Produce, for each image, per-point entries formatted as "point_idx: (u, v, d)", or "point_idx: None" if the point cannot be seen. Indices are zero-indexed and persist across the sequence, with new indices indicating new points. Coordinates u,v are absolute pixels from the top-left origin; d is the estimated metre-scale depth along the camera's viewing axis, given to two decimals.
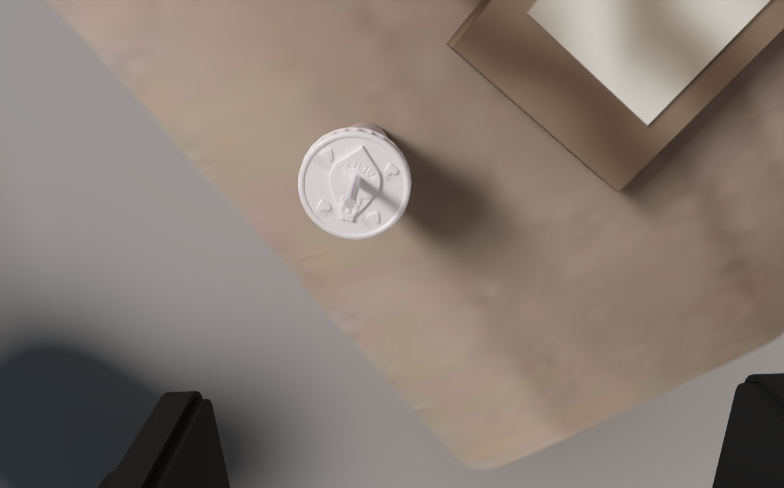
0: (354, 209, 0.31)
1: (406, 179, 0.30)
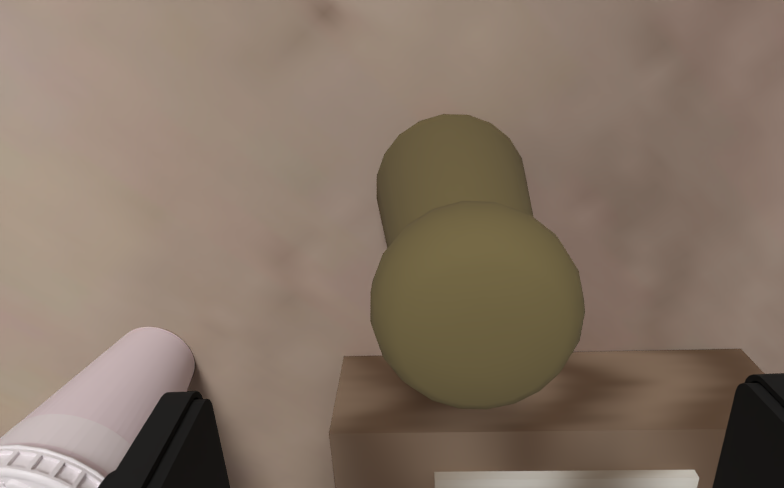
0: None
1: None
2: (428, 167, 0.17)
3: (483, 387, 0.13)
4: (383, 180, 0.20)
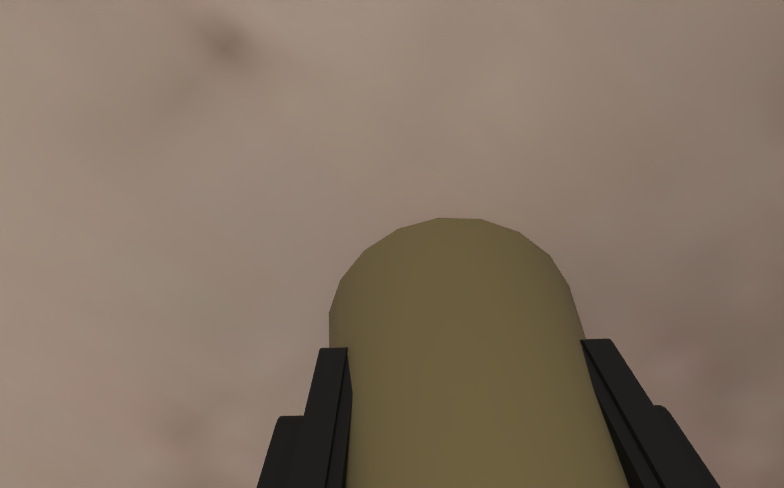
0: None
1: None
2: (412, 367, 0.08)
3: None
4: (334, 340, 0.12)
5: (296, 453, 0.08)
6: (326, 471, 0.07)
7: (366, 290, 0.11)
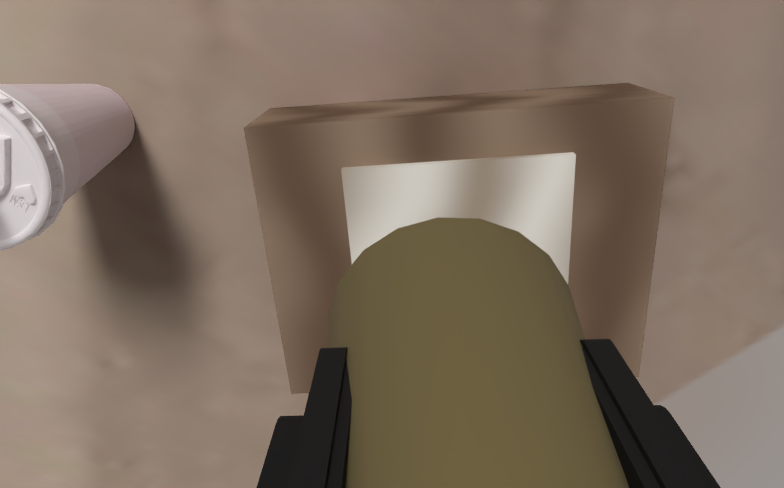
0: None
1: (38, 219, 0.20)
2: (410, 366, 0.08)
3: None
4: (334, 339, 0.11)
5: (296, 453, 0.08)
6: (327, 471, 0.07)
7: (365, 289, 0.11)
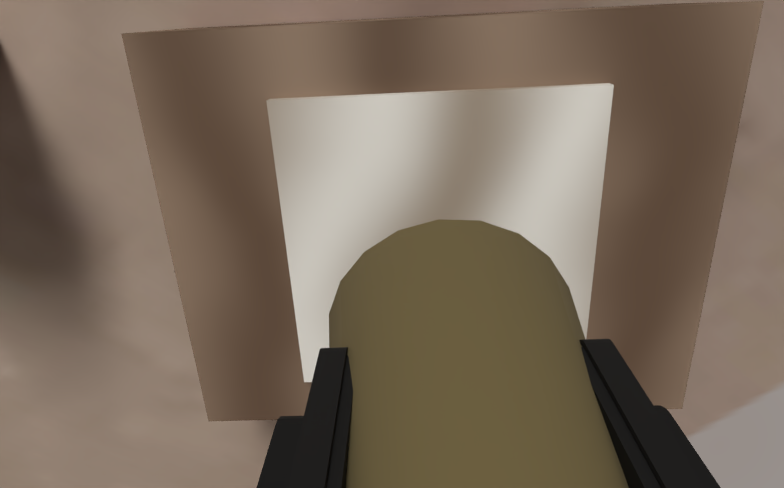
0: None
1: None
2: (411, 369, 0.08)
3: None
4: (334, 341, 0.11)
5: (296, 453, 0.08)
6: (327, 472, 0.07)
7: (366, 292, 0.11)
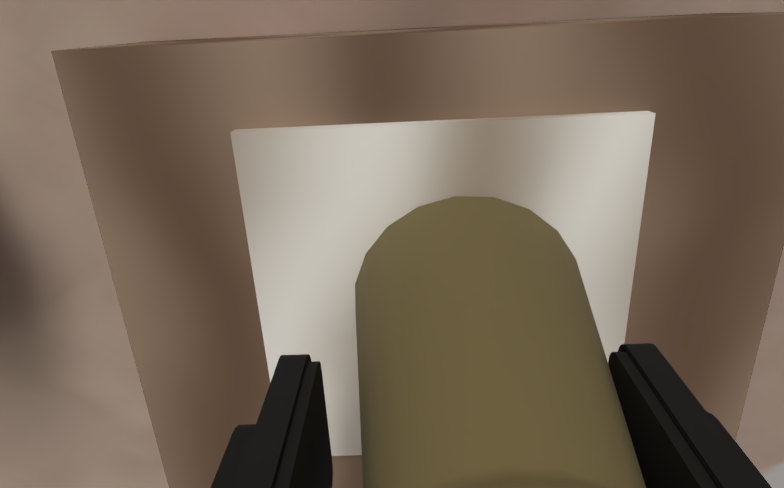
0: None
1: None
2: (431, 318, 0.10)
3: None
4: (361, 305, 0.13)
5: (243, 464, 0.08)
6: (272, 484, 0.07)
7: (390, 259, 0.12)
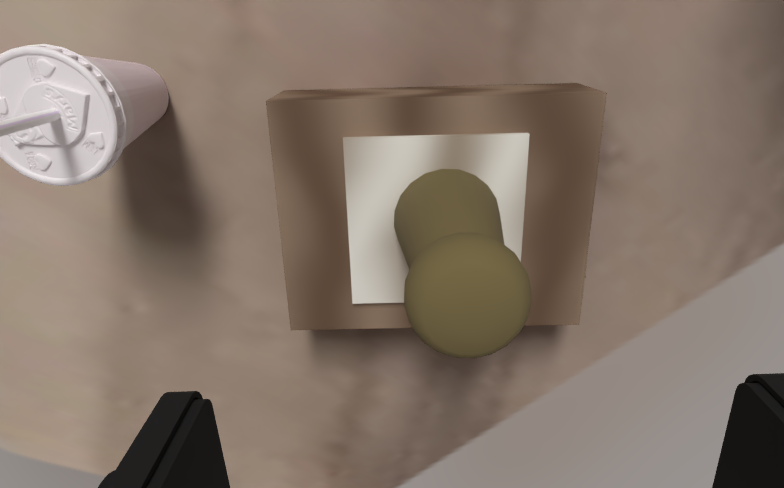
0: (27, 137, 0.25)
1: (103, 160, 0.26)
2: (434, 208, 0.26)
3: (472, 342, 0.21)
4: (401, 215, 0.29)
5: None
6: None
7: (414, 194, 0.29)
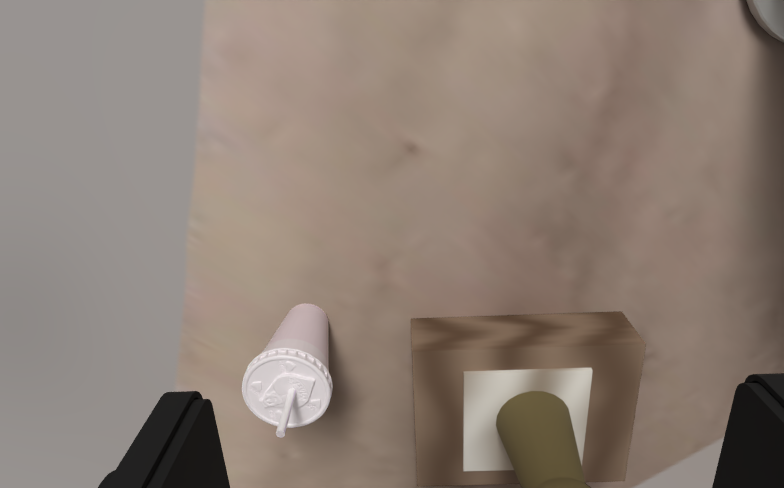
0: (273, 403, 0.39)
1: (319, 414, 0.39)
2: (534, 439, 0.40)
3: None
4: (505, 427, 0.43)
5: None
6: None
7: (514, 414, 0.42)
